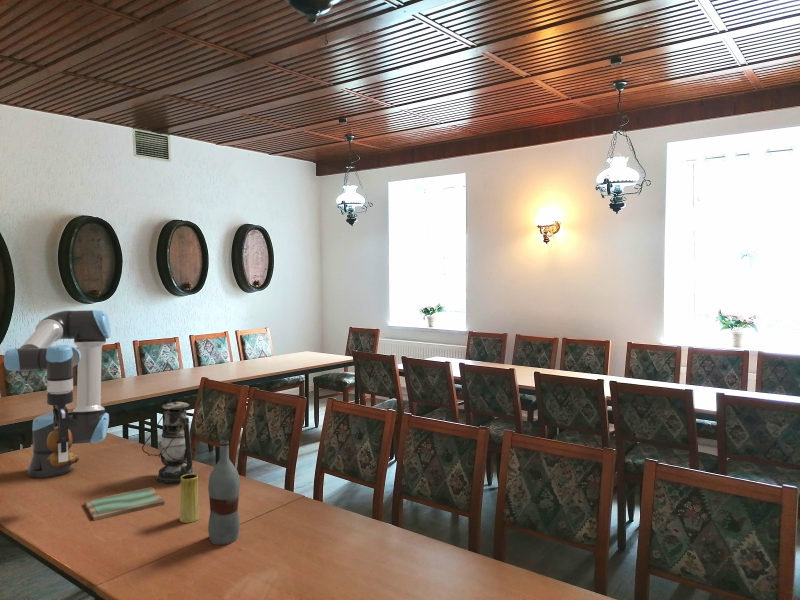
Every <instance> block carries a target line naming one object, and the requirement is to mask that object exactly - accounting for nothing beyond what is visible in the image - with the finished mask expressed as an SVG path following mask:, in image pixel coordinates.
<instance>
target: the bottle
mask: <svg viewBox="0 0 800 600" xmlns="http://www.w3.org/2000/svg"><path fill="white" fill-rule="evenodd" d="M229 443H230V441H229V440H221V441H219V460H218V461H217V462H216V464H215V466H214V468H213V469H212V471H211V472H210V475H209V477H208V488H207V490H208V497H209V511H210V512H209V518H208V526H207V530H208V531H207V532H208V538H209V540H210V542H211V543H212V544H213V545H217V546H221V545H229V544H232V543H234V542H235V541H237V540H238V538H239V534H240V526H241V522H240V514H239V499H240V498H239V497H240V488H241V481H240V474H239V471H238V470H237V468H236V467H235V466H234V464H233V462H232V461H231V459H230V456H229V455H230V453H229V452H230V451H229V450H230V449H229Z"/></svg>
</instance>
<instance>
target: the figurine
mask: <svg viewBox="0 0 800 600" xmlns="http://www.w3.org/2000/svg"><path fill="white" fill-rule="evenodd" d="M54 430H55V431H52V432H50V434H49V435H48V438H47V447H48V448H49V449H50V451H54V452H53V453H52V454H51V455H50V456H49V457H48V458H47V459H46V460H48V461H50V463H51V465H52V466H53V467H64V466H69V465H71V464H72V465H73V464H75V463H78V461H79V460H80V456H79V455H78V454H74V453H73V450H72V449H71V447H72V445H73V444H72V442H73V438H72V433H71V431H70V430H69V429H68V432H69V442H68V461H65V462H59V458H58V444H57V443H56V442H57V441H59V435H58V426H57V427H55V428H54ZM63 439H64V438H63Z"/></svg>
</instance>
